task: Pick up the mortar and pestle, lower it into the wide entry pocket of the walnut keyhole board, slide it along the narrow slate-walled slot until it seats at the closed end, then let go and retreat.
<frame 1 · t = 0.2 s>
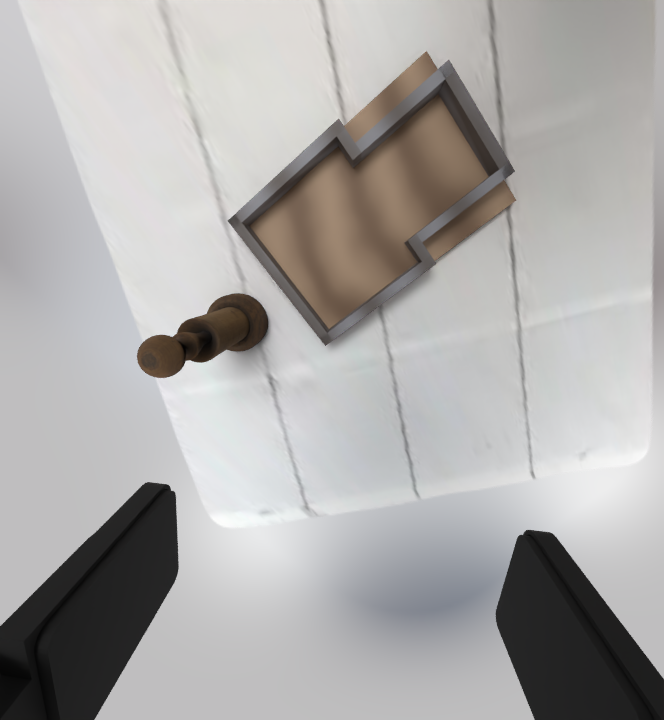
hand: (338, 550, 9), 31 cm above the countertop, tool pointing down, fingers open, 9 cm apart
keyhole board: (370, 214, 35), on the countertop
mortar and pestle: (241, 320, 39), on the countertop
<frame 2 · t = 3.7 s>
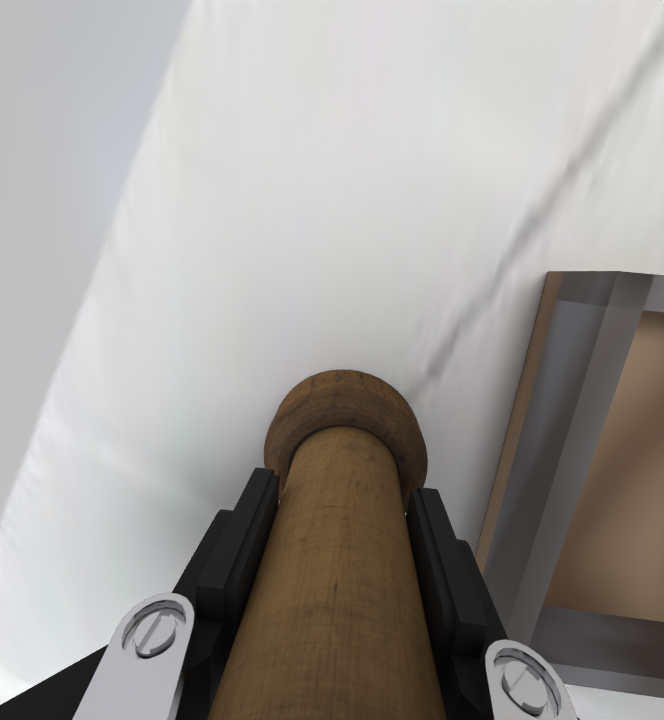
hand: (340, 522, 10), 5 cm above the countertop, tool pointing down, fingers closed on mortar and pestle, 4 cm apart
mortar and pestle: (345, 435, 15), on the countertop, touching gripper
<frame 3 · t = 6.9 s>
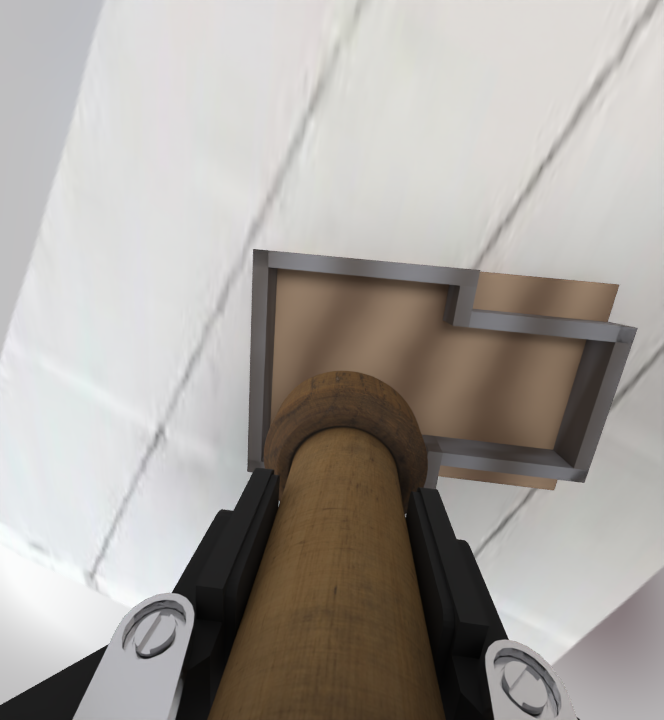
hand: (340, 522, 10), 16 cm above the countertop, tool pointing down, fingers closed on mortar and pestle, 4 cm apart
keyhole board: (416, 374, 25), on the countertop
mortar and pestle: (345, 436, 15), point 11 cm above the countertop, touching gripper
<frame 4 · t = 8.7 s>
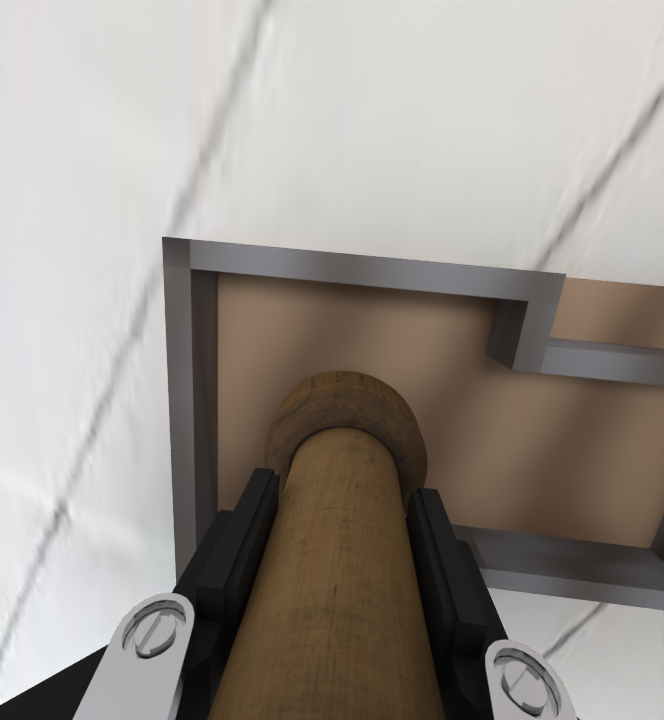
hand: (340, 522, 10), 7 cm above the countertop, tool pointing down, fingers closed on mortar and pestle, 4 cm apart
keyhole board: (438, 432, 17), on the countertop
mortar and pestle: (345, 435, 15), point 2 cm above the countertop, touching gripper
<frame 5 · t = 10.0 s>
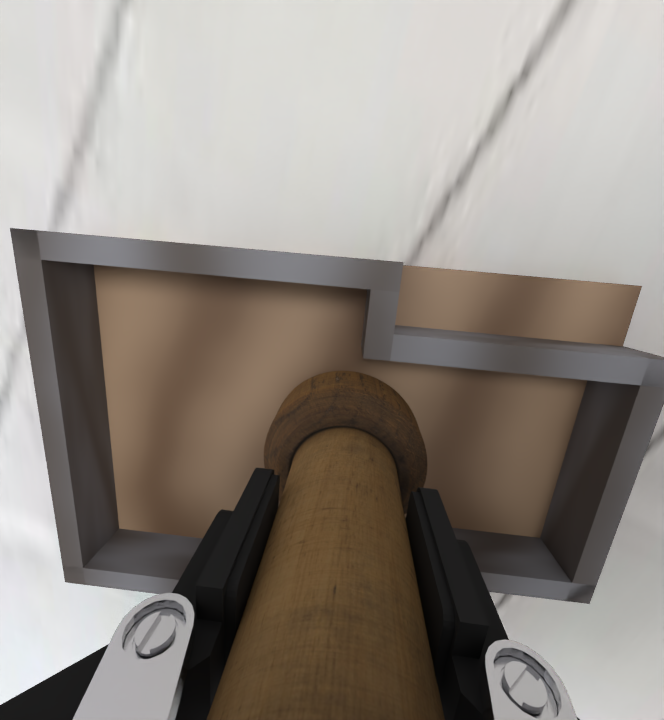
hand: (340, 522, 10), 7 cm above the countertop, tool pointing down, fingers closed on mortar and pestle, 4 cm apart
keyhole board: (331, 424, 17), on the countertop
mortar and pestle: (345, 436, 15), point 1 cm above the countertop, touching gripper
when the fingers open (7 cm above the countertop, at t = 12.6 s): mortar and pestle stays where it is, resting on keyhole board.
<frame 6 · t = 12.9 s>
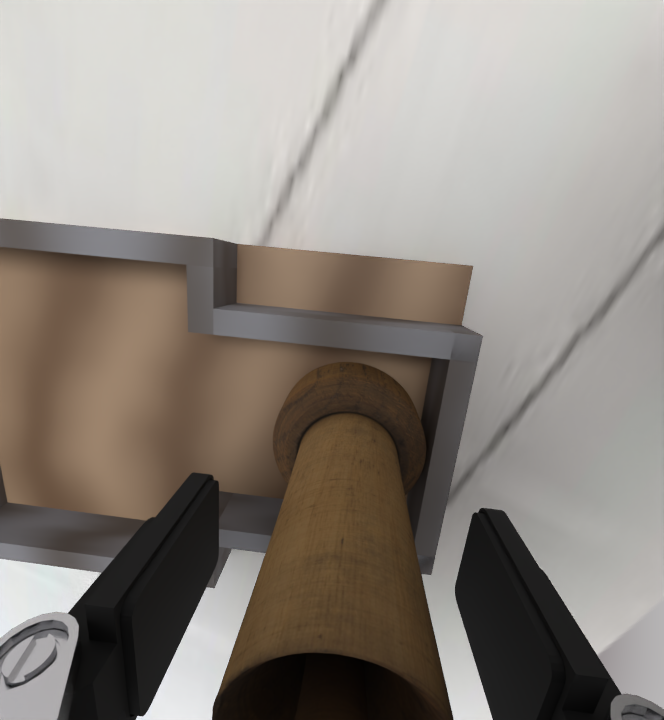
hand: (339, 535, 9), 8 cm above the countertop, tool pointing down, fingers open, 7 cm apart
keyhole board: (204, 402, 17), on the countertop
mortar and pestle: (349, 424, 16), point 1 cm above the countertop, touching keyhole board
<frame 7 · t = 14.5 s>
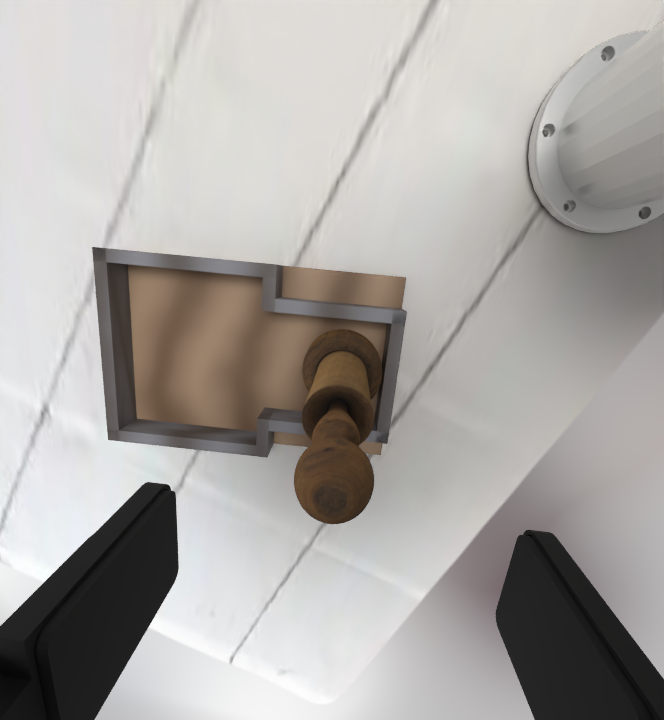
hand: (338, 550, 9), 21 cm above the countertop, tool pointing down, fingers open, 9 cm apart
keyhole board: (258, 355, 30), on the countertop
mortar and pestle: (342, 365, 29), point 1 cm above the countertop, touching keyhole board
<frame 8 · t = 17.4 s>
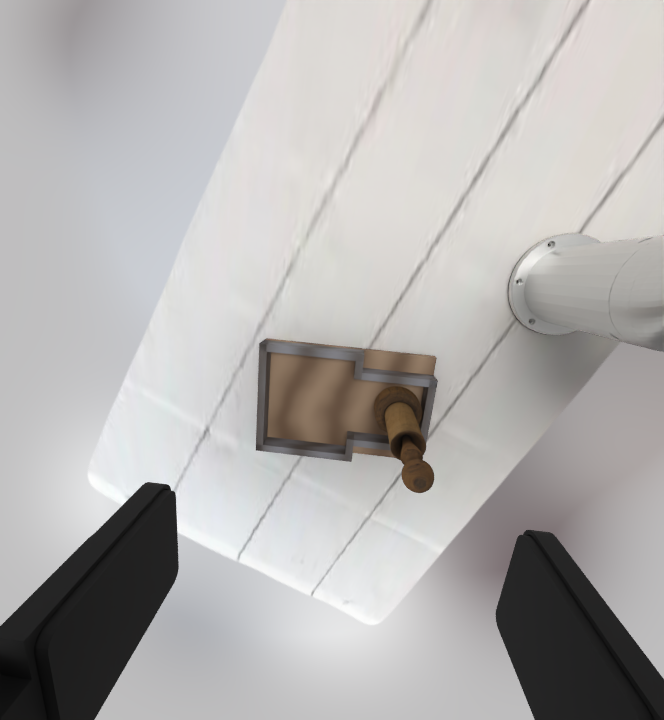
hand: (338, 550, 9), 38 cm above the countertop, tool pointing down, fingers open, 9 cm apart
keyhole board: (343, 399, 49), on the countertop
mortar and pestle: (396, 406, 48), point 1 cm above the countertop, touching keyhole board
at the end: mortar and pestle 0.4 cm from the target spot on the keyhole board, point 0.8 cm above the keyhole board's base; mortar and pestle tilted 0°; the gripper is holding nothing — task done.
